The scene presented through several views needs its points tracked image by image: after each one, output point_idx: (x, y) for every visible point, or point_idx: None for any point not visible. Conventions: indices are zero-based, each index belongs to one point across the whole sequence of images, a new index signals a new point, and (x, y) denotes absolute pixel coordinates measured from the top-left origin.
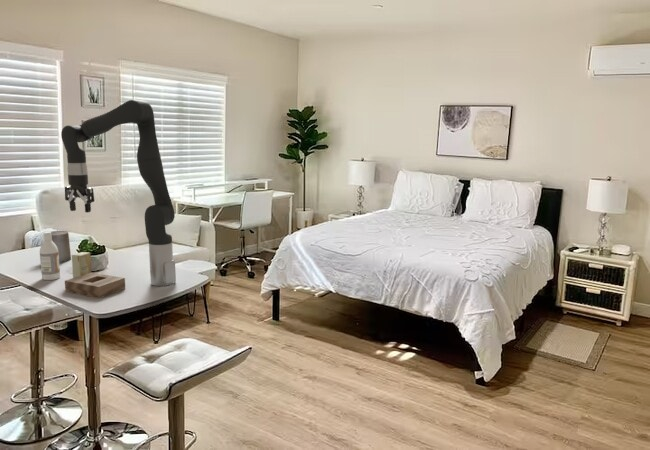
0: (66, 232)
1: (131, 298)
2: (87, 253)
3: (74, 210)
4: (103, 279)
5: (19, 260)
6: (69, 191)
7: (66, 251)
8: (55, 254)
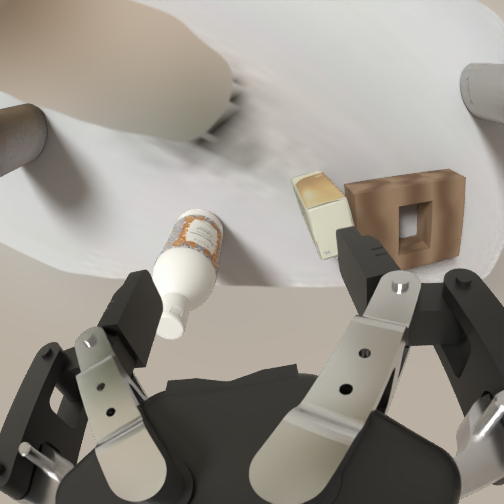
0: None
1: (490, 207)
2: (348, 211)
3: (151, 280)
4: (434, 217)
5: None
6: (73, 465)
7: (26, 124)
8: (215, 264)
